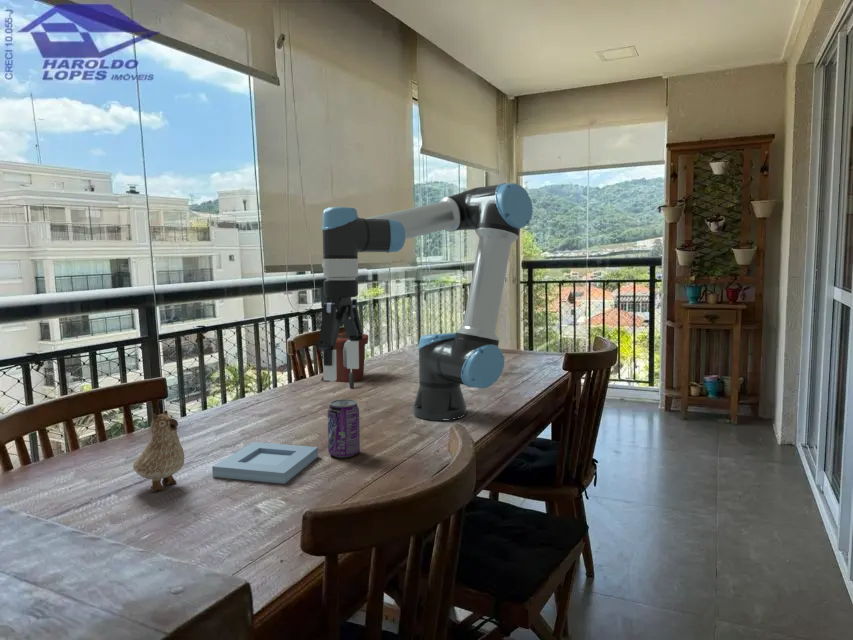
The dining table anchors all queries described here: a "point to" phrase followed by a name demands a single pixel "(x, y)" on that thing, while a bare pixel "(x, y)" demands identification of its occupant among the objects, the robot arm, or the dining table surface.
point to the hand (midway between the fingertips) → (342, 374)
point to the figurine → (161, 453)
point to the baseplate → (266, 462)
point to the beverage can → (343, 428)
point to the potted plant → (341, 360)
